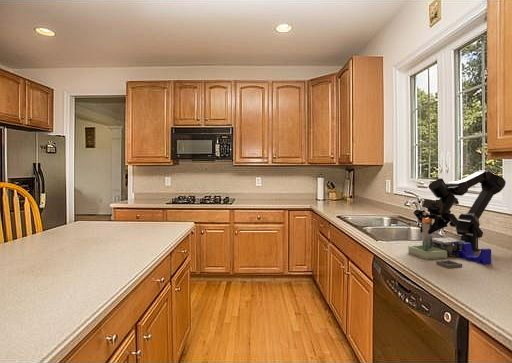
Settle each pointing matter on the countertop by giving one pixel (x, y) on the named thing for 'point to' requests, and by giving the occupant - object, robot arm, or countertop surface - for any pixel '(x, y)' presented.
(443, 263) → the pin collar
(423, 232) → the pin
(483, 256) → the cable clip
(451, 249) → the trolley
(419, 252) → the tray
